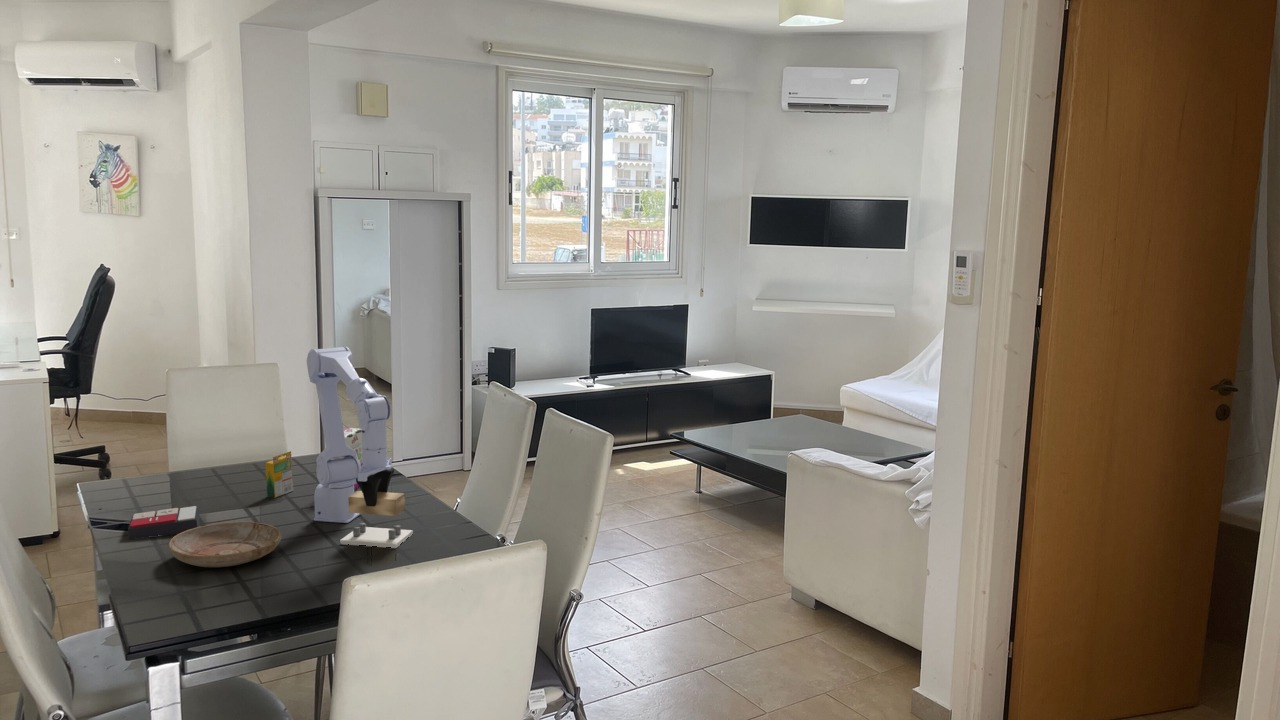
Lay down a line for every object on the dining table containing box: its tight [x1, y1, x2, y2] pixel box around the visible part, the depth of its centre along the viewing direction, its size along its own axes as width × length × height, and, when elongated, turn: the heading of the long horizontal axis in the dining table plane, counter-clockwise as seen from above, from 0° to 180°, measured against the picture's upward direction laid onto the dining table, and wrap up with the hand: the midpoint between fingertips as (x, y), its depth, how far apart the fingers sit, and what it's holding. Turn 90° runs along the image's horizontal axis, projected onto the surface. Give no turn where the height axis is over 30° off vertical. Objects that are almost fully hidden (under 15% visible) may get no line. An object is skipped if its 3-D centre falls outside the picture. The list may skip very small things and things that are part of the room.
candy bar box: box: [330, 427, 363, 491], centre depth 267 cm, size 11×5×16 cm, turn 168°
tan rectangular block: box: [348, 490, 406, 517], centre depth 226 cm, size 12×5×4 cm, turn 81°
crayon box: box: [265, 450, 294, 499], centre depth 262 cm, size 7×3×12 cm, turn 159°
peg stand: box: [339, 522, 414, 549], centre depth 227 cm, size 14×10×3 cm
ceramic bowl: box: [168, 521, 282, 568], centre depth 214 cm, size 23×24×5 cm
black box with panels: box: [127, 505, 201, 540], centre depth 233 cm, size 11×4×15 cm
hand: (376, 502), depth 226 cm, fingers closed on tan rectangular block, 5 cm apart
